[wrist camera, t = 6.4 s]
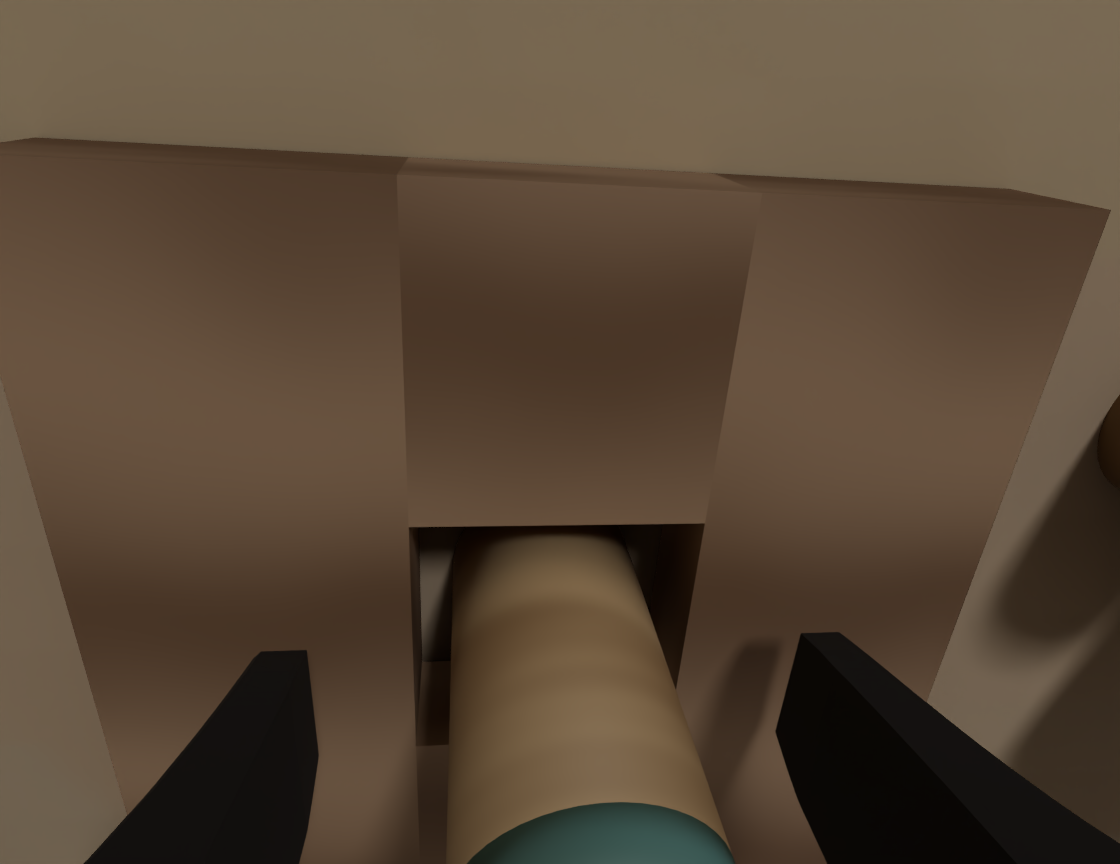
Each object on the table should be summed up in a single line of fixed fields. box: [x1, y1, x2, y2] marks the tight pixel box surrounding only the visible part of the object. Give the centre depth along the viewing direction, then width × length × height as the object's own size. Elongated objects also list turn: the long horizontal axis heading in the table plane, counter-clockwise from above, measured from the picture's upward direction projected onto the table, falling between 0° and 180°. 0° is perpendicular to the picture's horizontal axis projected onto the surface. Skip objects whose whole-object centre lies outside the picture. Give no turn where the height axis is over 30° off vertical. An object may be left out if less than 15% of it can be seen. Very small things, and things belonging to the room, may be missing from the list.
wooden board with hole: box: [0, 138, 1111, 864], centre depth 13 cm, size 14×14×2 cm
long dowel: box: [446, 525, 735, 864], centre depth 10 cm, size 3×3×7 cm
